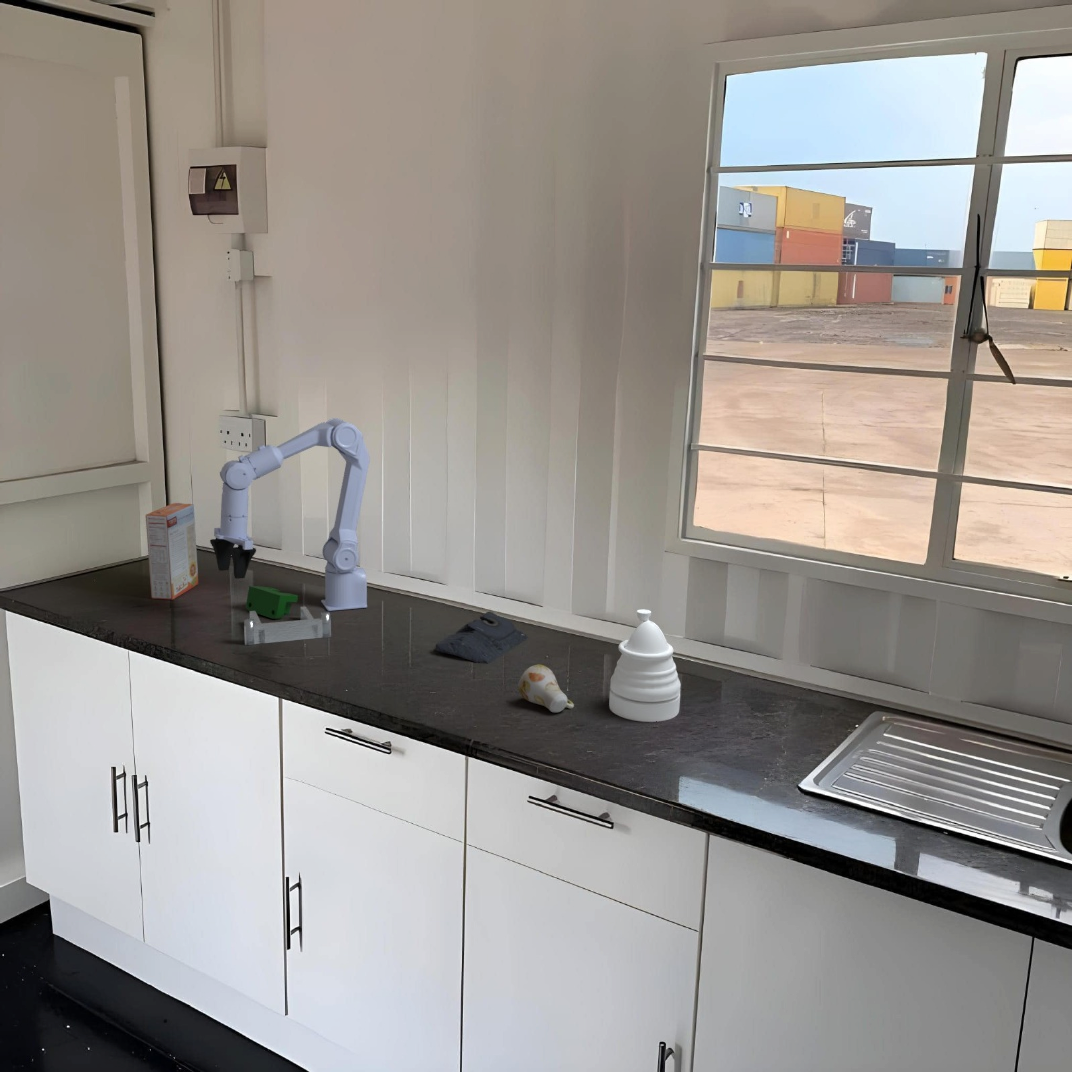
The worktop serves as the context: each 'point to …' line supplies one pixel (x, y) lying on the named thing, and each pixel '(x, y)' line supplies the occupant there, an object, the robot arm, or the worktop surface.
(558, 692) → the mug
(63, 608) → the worktop surface
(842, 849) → the worktop surface
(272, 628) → the dock
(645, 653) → the honey pot
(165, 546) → the cracker box
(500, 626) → the folded dark cloth
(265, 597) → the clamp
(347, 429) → the robot arm
